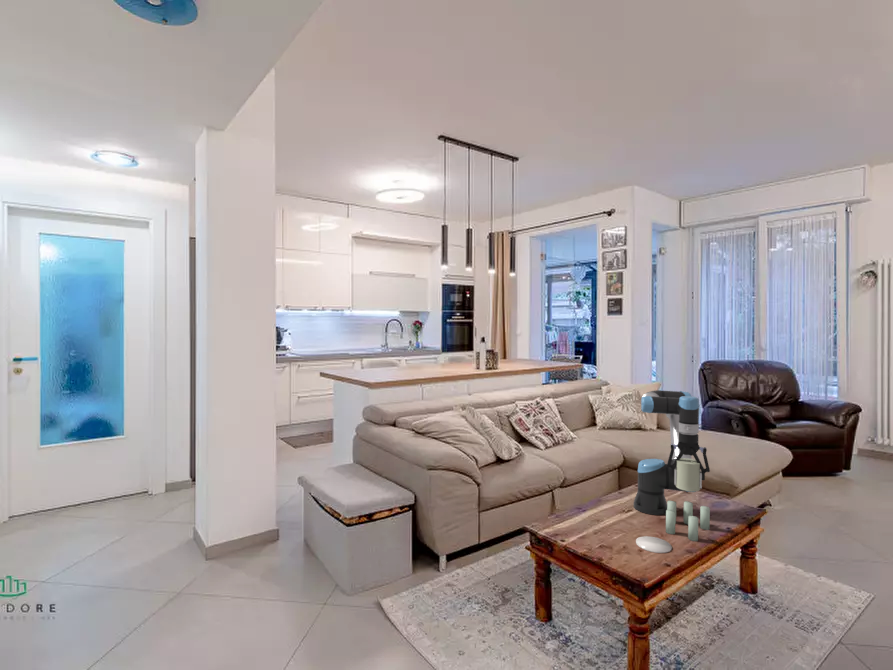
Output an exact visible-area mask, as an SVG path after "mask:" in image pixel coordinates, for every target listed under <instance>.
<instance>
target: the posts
mask: <svg viewBox="0 0 893 670" xmlns="http://www.w3.org/2000/svg"><path fill="white" fill-rule="evenodd" d="M666 502H667V510H666V514H665V533H666V534H668V535H675V534H676V524H677V502H676V501H674V500H666ZM693 507H694V503H693V502H691V501H683V520H682V521H683V523H684V524H685V525H688V527H687V528H688V529H687V530H688V531H687V538H688V540H689V541H691V542H698V541H699V528H700V529H702V530H705V531H709V530H710V525H711V524H710V521H711V520H710V519H711V518H710V517H711V516H710V515H711V508H710V507H709V506H706V505H701V506H700V507H699V508H700V509H699V512H700V513H699V515H700V516H699V517H700V519H699V517H698V516H696V515H693V514H694V512H693V511H694V509H693Z"/></svg>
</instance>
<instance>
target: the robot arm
mask: <svg viewBox="0 0 893 670" xmlns="http://www.w3.org/2000/svg"><path fill="white" fill-rule="evenodd" d="M699 401H700V400H699V397H696V396H693V395H692V394H691V393H690V392H689V391H682V390H680V391H677V390H676V391H675V390H674V391H673V390H658V389H657V390H650V391H647V392H646V393H644V394H643V395H642V396H641V398H640V403H641V406H640V408H641V412H642V413H645V414H646V413H648V414H659V415H660V414H662V415H663V414H664V415H665V416H666V418H668V419H669V432H670V433H669V434H670V436H669V437H670V453H669V457H668V460H667V463H665V461H664V460H663V459H660V458H646V459H642V460H640V461H639V462H638V467H637V492H636V494H635V497H634V499H633V509H635V510H636V511H639V512H641V513H644V514H648V515H654V516H661V515H666V510H667V500H666V496H665V490H669V491H677V492H684V493H692V492H691V491H684V490H681V489H678V488H677V487H676V472H677V461H679V460H680V459H681V458H688V459H693V458H694V460H696V462H697V463H700V490H701V489H703V488H702V487H703V484H702V482H703V481H705V479H706V473H710V472H711V470H710V465H709V461H708V456H707V451H708V449H707V447H702V446H700V445H699V431H700V430H699V429H700V427H699V426H700V425H699V421H700V420H699V414H700V402H699ZM699 451H700V452H701V453H702V456H703V461H704V464H705V467H704V465H703V464H702V462H701V460H700V458H699V456H698V454H697V453H698V452H699ZM692 456H693V458H692Z"/></svg>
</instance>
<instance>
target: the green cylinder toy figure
mask: <svg viewBox="0 0 893 670" xmlns="http://www.w3.org/2000/svg"><path fill="white" fill-rule="evenodd" d="M700 471H701V469H700V463H697V462H696V460H695V458H694V459H693V458H692V459H688V458H681V459H680V460H679V461H677V472H676V487H677V488H678V489H681V490H684V491H691V492H690V493H696V492H699V491H700V490H701V488H700ZM684 491H683V492H684Z"/></svg>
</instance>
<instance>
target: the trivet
mask: <svg viewBox="0 0 893 670" xmlns="http://www.w3.org/2000/svg"><path fill="white" fill-rule="evenodd" d="M635 544H636V546H638V547H639V548H640V549H643V550H644V551H647V552H650V553H656V554H667V553H669V552H671V551H672V549H673V547H672V545H671V543H669V541H667V540H665V539H662V538H659V537H656V536H647V535H645V536H639V537H637V538H636V539H635Z"/></svg>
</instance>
